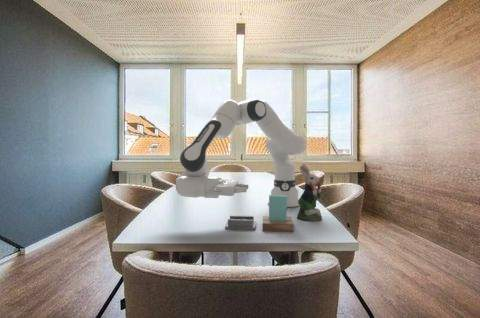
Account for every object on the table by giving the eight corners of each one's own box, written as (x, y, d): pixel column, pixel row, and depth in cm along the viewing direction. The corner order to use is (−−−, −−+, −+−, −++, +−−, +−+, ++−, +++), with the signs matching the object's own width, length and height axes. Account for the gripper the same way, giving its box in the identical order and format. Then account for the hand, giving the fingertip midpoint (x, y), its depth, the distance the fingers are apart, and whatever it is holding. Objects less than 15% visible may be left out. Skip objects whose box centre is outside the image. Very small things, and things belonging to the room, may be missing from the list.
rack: (228, 222, 136) (228, 214, 136) (256, 223, 135) (256, 215, 135) (225, 229, 126) (225, 220, 126) (254, 229, 125) (254, 221, 125)
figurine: (321, 225, 138) (330, 169, 136) (291, 220, 141) (300, 165, 138) (320, 219, 149) (329, 167, 146) (292, 214, 151) (300, 162, 149)
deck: (263, 223, 136) (263, 216, 135) (291, 223, 134) (291, 217, 134) (262, 230, 124) (262, 223, 123) (293, 231, 122) (293, 224, 122)
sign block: (268, 218, 131) (269, 195, 130) (285, 219, 130) (286, 195, 130) (268, 220, 128) (269, 196, 127) (286, 221, 127) (286, 196, 127)
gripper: (209, 182, 120) (245, 183, 119) (218, 177, 140) (249, 178, 139) (209, 199, 120) (245, 200, 119) (218, 191, 141) (249, 192, 139)
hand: (247, 188), depth 129 cm, fingers open, 8 cm apart
